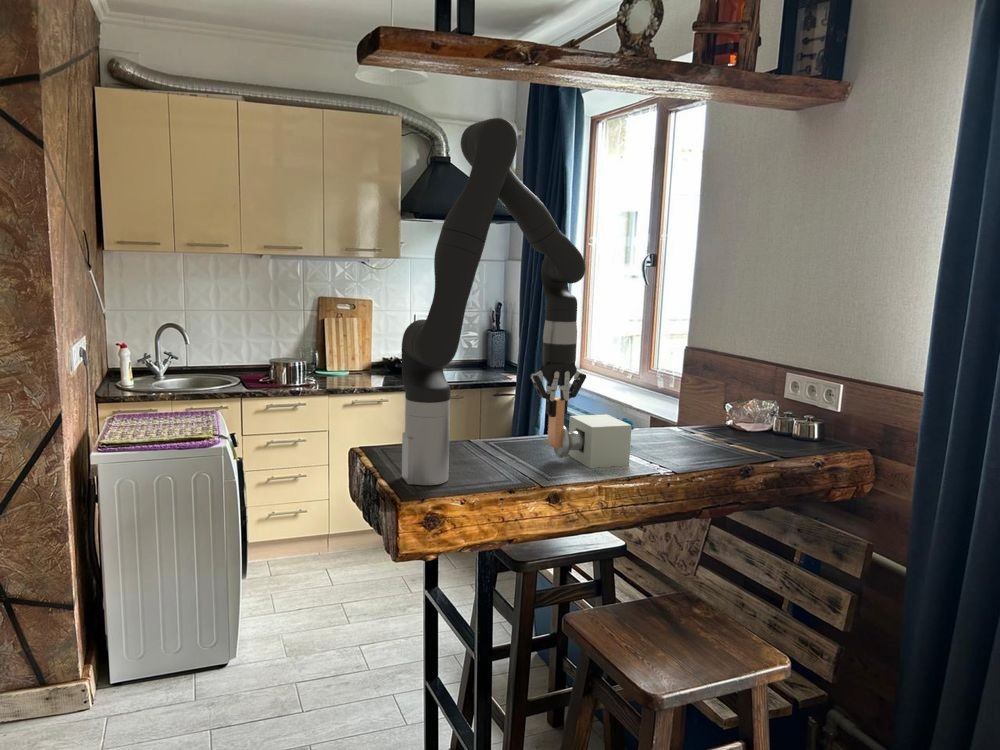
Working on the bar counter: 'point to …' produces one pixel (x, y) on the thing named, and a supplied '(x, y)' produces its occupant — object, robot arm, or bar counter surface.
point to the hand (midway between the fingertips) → (556, 415)
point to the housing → (602, 440)
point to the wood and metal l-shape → (563, 433)
